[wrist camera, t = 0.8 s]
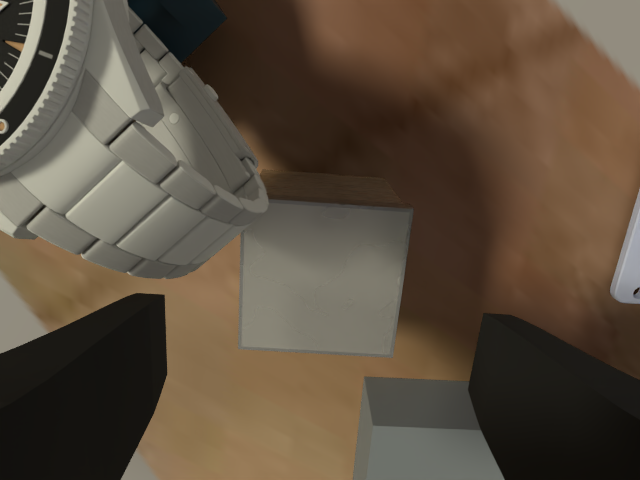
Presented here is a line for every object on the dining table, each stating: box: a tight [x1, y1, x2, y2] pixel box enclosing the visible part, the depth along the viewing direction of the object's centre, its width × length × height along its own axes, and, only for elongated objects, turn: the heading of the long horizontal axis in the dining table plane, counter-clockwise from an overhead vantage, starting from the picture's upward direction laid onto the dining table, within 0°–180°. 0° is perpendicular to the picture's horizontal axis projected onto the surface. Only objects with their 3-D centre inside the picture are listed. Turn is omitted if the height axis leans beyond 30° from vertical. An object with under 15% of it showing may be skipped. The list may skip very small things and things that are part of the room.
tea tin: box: [238, 169, 414, 358], centre depth 16 cm, size 5×5×5 cm
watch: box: [0, 0, 269, 279], centre depth 11 cm, size 6×8×11 cm
